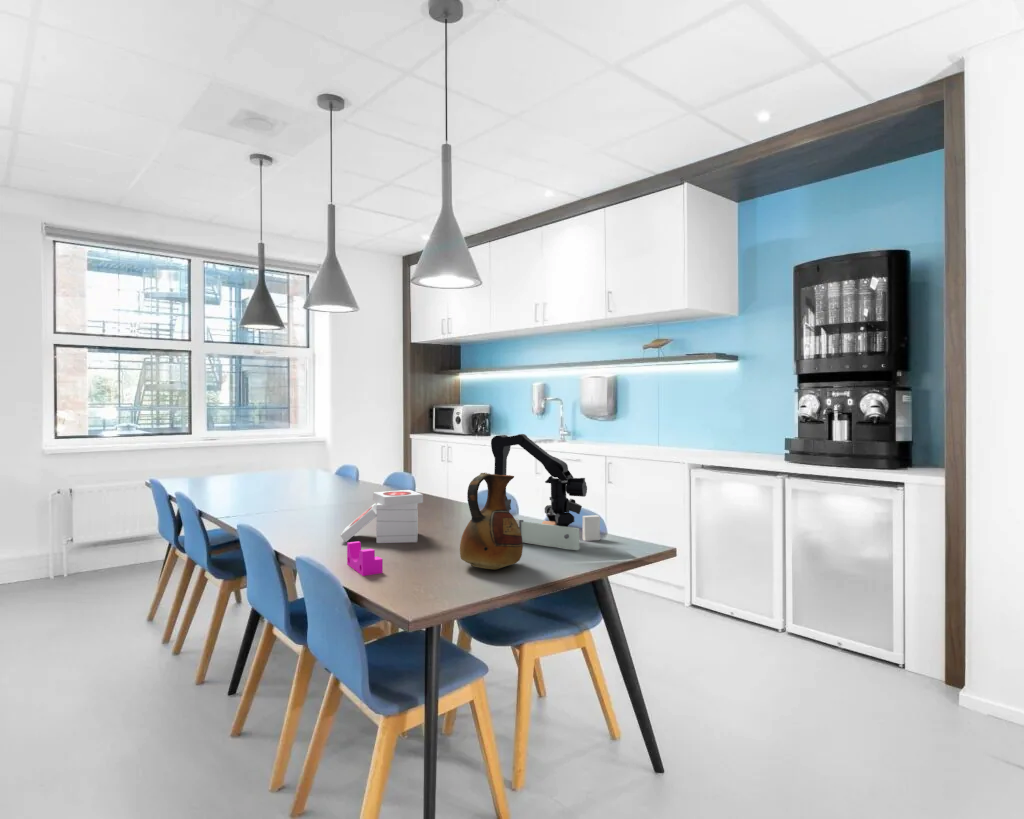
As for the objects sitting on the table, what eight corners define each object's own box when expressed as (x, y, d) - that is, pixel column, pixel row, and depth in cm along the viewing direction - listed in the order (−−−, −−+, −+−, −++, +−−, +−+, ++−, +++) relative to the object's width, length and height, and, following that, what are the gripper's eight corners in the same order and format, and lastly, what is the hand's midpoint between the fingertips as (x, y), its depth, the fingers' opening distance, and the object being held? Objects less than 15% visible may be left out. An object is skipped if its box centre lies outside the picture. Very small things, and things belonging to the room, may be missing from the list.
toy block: (382, 573, 189) (382, 549, 189) (362, 576, 185) (362, 551, 185) (366, 563, 201) (366, 540, 201) (347, 565, 198) (347, 542, 198)
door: (516, 542, 229) (516, 520, 229) (520, 541, 231) (520, 519, 231) (575, 550, 215) (575, 528, 215) (579, 549, 217) (579, 526, 217)
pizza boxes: (346, 536, 242) (345, 490, 242) (423, 534, 246) (423, 489, 246) (339, 547, 223) (339, 497, 223) (422, 545, 227) (422, 496, 227)
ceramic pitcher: (535, 566, 196) (535, 472, 196) (488, 578, 182) (488, 477, 182) (493, 555, 210) (493, 468, 210) (447, 566, 196) (447, 472, 196)
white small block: (514, 544, 228) (514, 519, 228) (513, 542, 231) (513, 518, 231) (600, 540, 235) (600, 516, 235) (597, 538, 238) (597, 515, 238)
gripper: (587, 498, 222) (588, 541, 223) (571, 489, 240) (572, 528, 241) (558, 500, 219) (558, 543, 220) (543, 491, 237) (544, 531, 238)
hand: (559, 536), depth 230 cm, fingers open, 8 cm apart
